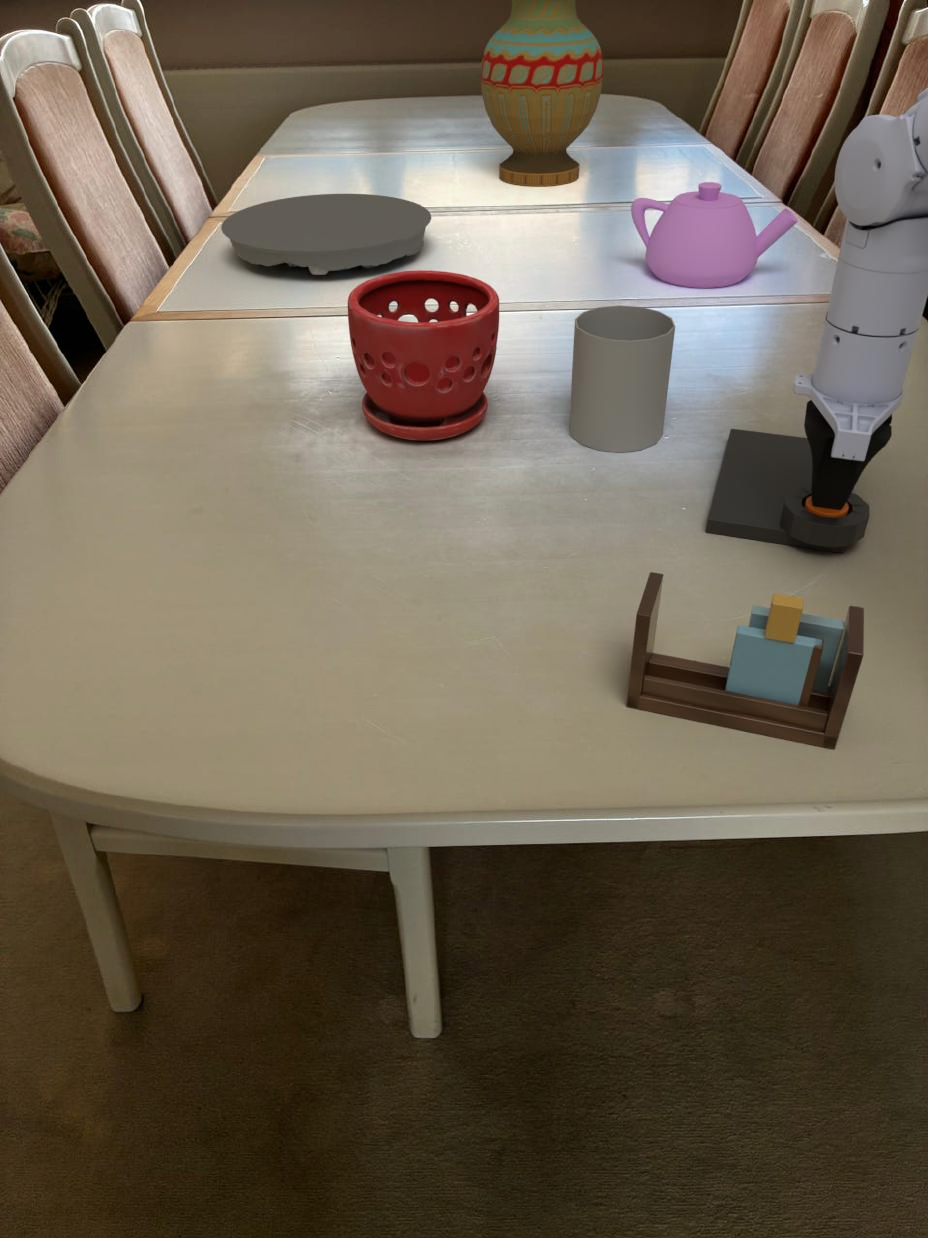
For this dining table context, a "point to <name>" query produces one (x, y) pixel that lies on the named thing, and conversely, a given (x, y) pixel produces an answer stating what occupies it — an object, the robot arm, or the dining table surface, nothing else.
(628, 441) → the cup
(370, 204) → the flat disc
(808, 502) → the button
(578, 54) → the vase
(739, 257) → the teapot
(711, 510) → the button block
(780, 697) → the pane
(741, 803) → the dining table surface
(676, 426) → the dining table surface
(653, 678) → the brown wooden rack
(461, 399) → the flower pot
